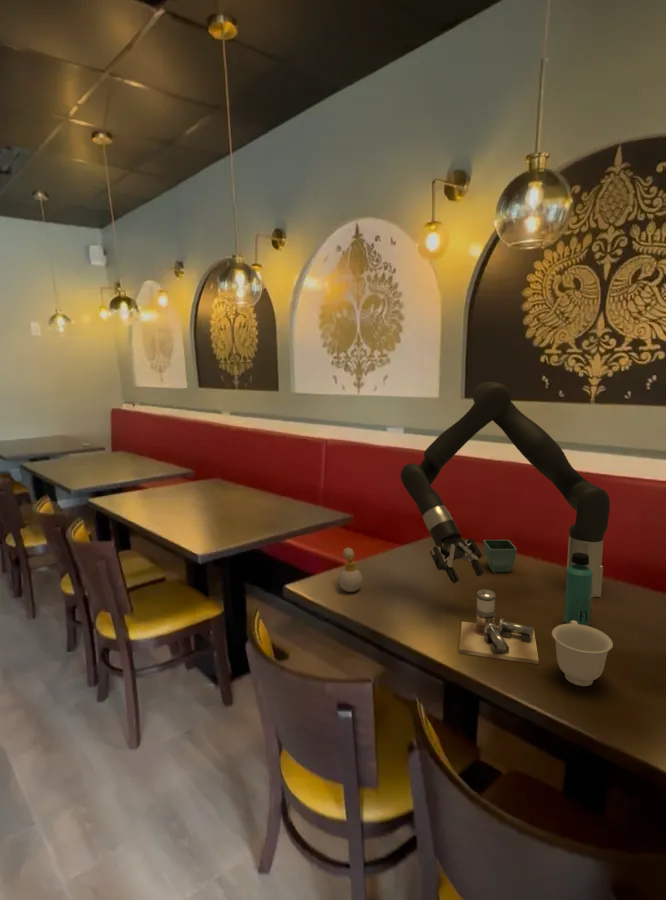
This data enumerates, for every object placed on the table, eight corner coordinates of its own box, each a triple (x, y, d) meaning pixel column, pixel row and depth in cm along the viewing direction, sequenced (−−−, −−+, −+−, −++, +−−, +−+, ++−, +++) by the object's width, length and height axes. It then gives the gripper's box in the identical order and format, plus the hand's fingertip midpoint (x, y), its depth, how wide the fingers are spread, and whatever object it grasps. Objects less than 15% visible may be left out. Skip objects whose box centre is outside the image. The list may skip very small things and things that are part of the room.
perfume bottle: (346, 597, 157) (345, 559, 155) (330, 585, 165) (330, 549, 163) (367, 591, 160) (367, 554, 158) (351, 580, 169) (350, 545, 167)
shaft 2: (498, 636, 132) (498, 621, 131) (500, 629, 135) (501, 615, 134) (531, 643, 128) (532, 628, 127) (533, 636, 131) (534, 622, 131)
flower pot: (516, 574, 171) (517, 548, 169) (489, 575, 171) (490, 549, 170) (507, 564, 180) (508, 539, 178) (482, 564, 180) (482, 539, 178)
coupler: (494, 626, 136) (495, 590, 135) (494, 635, 132) (496, 598, 130) (475, 623, 138) (477, 588, 136) (475, 632, 133) (476, 596, 132)
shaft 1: (483, 637, 131) (483, 623, 131) (497, 636, 131) (497, 622, 131) (494, 655, 123) (495, 640, 123) (509, 654, 124) (510, 639, 123)
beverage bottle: (578, 635, 133) (583, 561, 130) (556, 623, 139) (561, 552, 136) (595, 628, 136) (601, 556, 133) (573, 618, 142) (578, 548, 139)
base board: (533, 633, 135) (533, 629, 134) (538, 664, 121) (538, 659, 121) (461, 624, 140) (462, 620, 139) (458, 653, 126) (459, 648, 126)
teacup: (597, 659, 123) (600, 619, 121) (616, 699, 109) (620, 655, 107) (543, 653, 126) (545, 614, 124) (554, 691, 111) (557, 648, 110)
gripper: (427, 523, 140) (455, 578, 132) (467, 514, 147) (496, 566, 139) (414, 536, 146) (441, 590, 138) (453, 527, 152) (481, 578, 144)
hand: (469, 578), depth 138 cm, fingers open, 8 cm apart
